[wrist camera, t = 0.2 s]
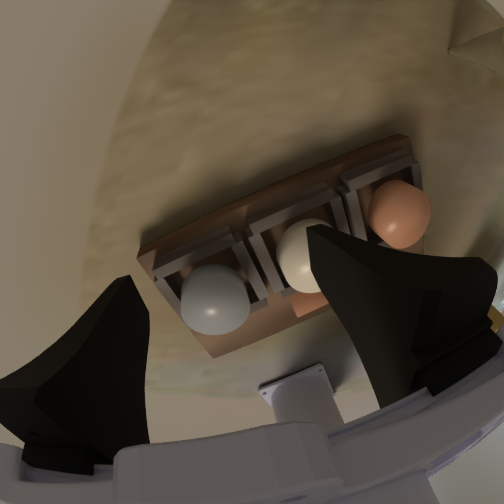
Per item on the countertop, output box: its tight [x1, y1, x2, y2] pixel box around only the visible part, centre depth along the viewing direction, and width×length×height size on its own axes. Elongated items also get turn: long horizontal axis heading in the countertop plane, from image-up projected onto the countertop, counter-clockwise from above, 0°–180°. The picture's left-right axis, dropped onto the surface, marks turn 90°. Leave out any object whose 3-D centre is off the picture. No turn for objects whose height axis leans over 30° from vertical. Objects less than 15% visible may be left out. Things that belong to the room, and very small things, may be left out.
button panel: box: [136, 134, 424, 359], centre depth 22 cm, size 12×22×3 cm, turn 113°
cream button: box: [276, 219, 331, 293], centre depth 19 cm, size 4×4×2 cm
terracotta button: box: [367, 180, 431, 249], centre depth 18 cm, size 4×4×2 cm
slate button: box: [181, 264, 250, 335], centre depth 19 cm, size 4×4×2 cm
